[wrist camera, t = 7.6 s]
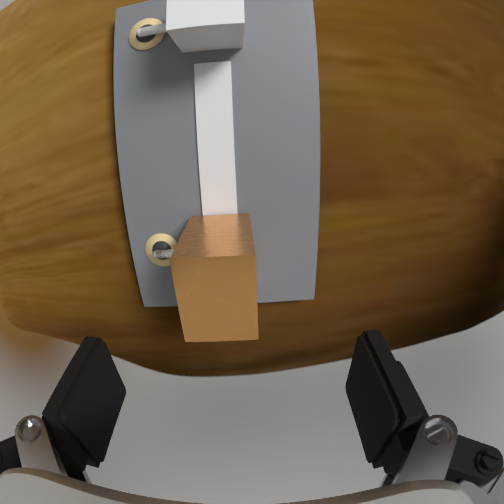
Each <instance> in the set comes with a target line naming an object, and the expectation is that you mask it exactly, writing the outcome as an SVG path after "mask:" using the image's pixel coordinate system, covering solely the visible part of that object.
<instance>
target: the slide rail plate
mask: <svg viewBox="0 0 504 504" xmlns="http://www.w3.org/2000/svg"><path fill="white" fill-rule="evenodd" d="M114 112H115V129H116V142H117V154H118V164H119V173H120V181H121V189H122V196H123V203H124V210H125V216H126V223H127V228H128V234H129V240H130V245H131V250H132V255H133V260H134V265H135V270H136V274H137V279H138V283H139V288H140V292H141V296H142V300H143V304H144V307H169V306H178V304H177V298H176V293H175V287H174V282H173V276H172V270H171V264H170V258H158V259H156V258H154V257H153V252H154V251H155V250H168V249H175V247H176V245H177V243H178V241H179V239H180V237H181V235H182V233H183V231H184V229H185V227H186V225H187V223H188V221H189V219H190V217H191V216H204V215H220V214H239V213H249V214H250V221H251V227H252V234H253V240H254V246H255V253H256V277H257V303H265V302H280V301H294V300H307V299H314V294H315V280H316V265H317V248H318V228H319V199H320V107H319V80H318V61H317V45H316V32H315V20H314V10H313V0H150V1H146V2H141V3H137V4H133V5H129V6H125V7H121V8H117V9H116V17H115V33H114Z"/></svg>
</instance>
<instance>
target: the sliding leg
mask: <svg viewBox="0 0 504 504" xmlns="http://www.w3.org/2000/svg"><path fill="white" fill-rule="evenodd" d="M153 257H154V258H156V259H158V258H170V264H171V270H172V276H173V282H174V287H175V293H176V298H177V304H178V309H179V314H180V319H181V324H182V329H183V334H184V338H185V342H209V341H236V340H255V339H258V308H257V277H256V253H255V246H254V240H253V234H252V227H251V221H250V214H249V213H239V214H220V215H204V216H191V217H190V219H189V221H188V223H187V225H186V227H185V229H184V231H183V233H182V235H181V237H180V239H179V241H178V243H177V245H176V247H175V249H168V250H155V251H154V252H153Z"/></svg>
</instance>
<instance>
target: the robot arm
mask: <svg viewBox="0 0 504 504" xmlns="http://www.w3.org/2000/svg"><path fill="white" fill-rule="evenodd" d="M346 393H347V396H348V399H349V402H350V406H351V409H352V412H353V415H354V419H355V422H356V425H357V428H358V432H359V435H360V438H361V442H362V445H363V449H364V452H365V455H366V459H367V461H368V463H372V464H373V468H374V469H375V468H378V467H382V466H383V467H384V471H385V473H386V475H385V477H384V479H383V481H382V483H381V484H380V486H379V488H375V489H370V490H366V491H362V492H357V493H353V494H347V495H342V496H336V497H330V498H324V499H317V500H309V501H301V502H292V503H280V504H504V464H503V456H502V454H501V452H500V451H499V450H498V449H497V448H495V447H493V446H489V445H486V444H483V443H480V442H477V441H475V440H472V439H469V438H466V437H463V436H461V435H458V430H457V426H456V425H455V423H454V422H453V421H452V420H451V419H450V418H448V417H446V416H444V415H432V416H430V417H429V415H428V413H427V411H426V409H425V407H424V405H423V403H422V401H421V399H420V397H419V395H418V393H417V392H416V389H415V388H414V386H413V384H412V382H411V380H410V378H409V376H408V374H407V372H406V370H405V369H404V367H403V365H402V364H401V362H399V361H396V360H395V358H394V357H393V354H392V353H391V351H390V349H389V347H388V345H387V343H386V342H385V340H384V338H383V336H382V334H381V333H380V331H379V330H372V331H364V332H363V333H362V335H361V336H358V338H357V342H356V346H355V350H354V354H353V358H352V362H351V366H350V370H349V374H348V378H347V382H346ZM125 395H126V389H125V386H124V384H123V382H122V380H121V378H120V375H119V373H118V371H117V369H116V366H115V364H114V362H113V360H112V357H111V355H110V352H109V350H108V348H107V345H106V343H105V342H103V341H102V339H101V338H98V337H85V339H84V340H83V342H82V343H81V345H80V347H79V348H78V350H77V352H76V353H75V355H74V357H73V358H72V360H71V362H70V363H69V365H68V367H67V369H66V370H65V372H64V374H63V376H62V378H61V379H60V381H59V383H58V385H57V386H56V388H55V390H54V392H53V394H52V395H51V397H50V399H49V401H48V403H47V405H46V407H45V409H44V411H43V413H42V414H43V416H42V418H40V417H38V416H35V415H29V416H26V417H24V418H22V419H21V420H20V421H19V422H18V424H17V425H16V428H15V436H13V437H10V438H8V439H6V440H3V441H1V442H0V504H201V503H189V502H179V501H171V500H164V499H157V498H151V497H145V496H140V495H135V494H130V493H125V492H121V491H117V490H112V489H108V488H104V487H101V486H97V485H93V484H92V483H91V481H90V479H89V477H88V475H87V473H86V471H85V468H86V465H90V466H94V467H97V468H98V467H99V465H100V462H103V461H104V458H105V455H106V452H107V449H108V446H109V443H110V439H111V436H112V433H113V430H114V427H115V424H116V421H117V418H118V415H119V412H120V409H121V406H122V404H123V401H124V398H125Z"/></svg>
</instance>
